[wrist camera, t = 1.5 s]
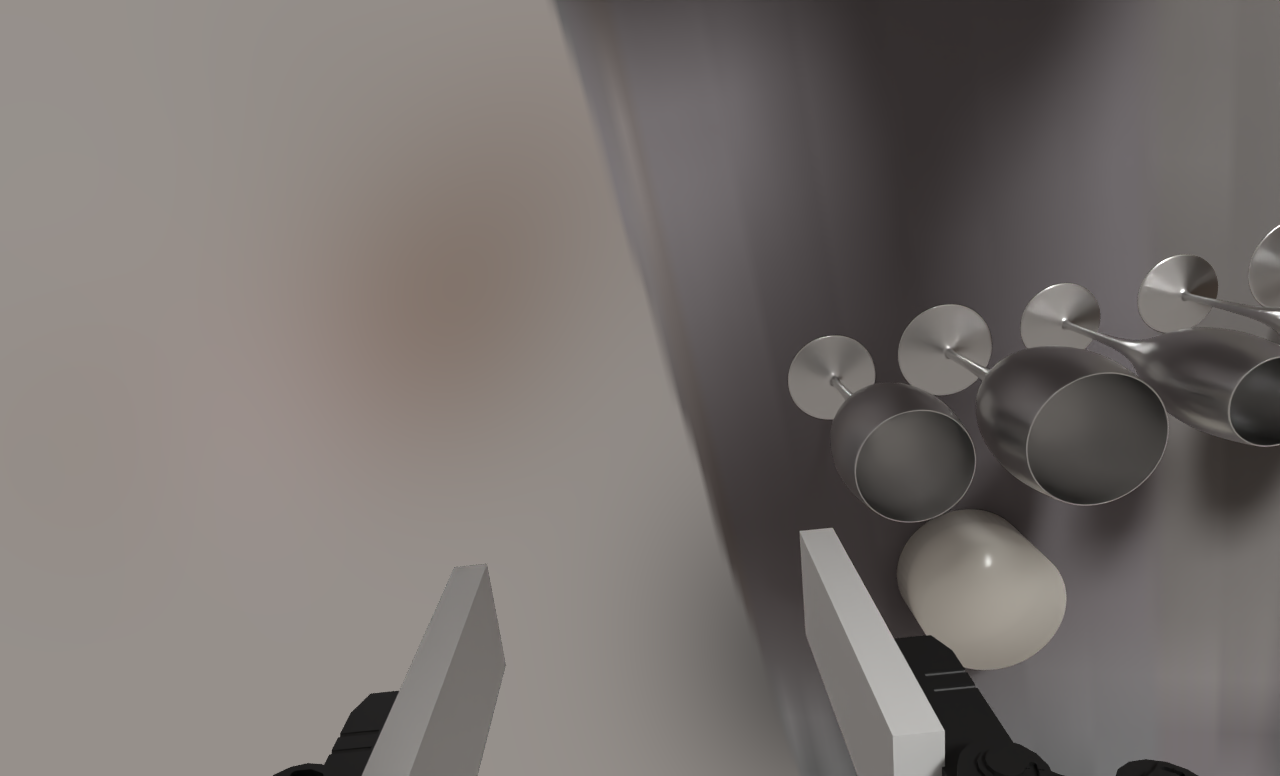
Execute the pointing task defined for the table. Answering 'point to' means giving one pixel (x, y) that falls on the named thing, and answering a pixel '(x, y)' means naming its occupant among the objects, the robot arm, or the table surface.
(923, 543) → the cream squat rounded piece
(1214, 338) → the goblet set
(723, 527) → the table surface
